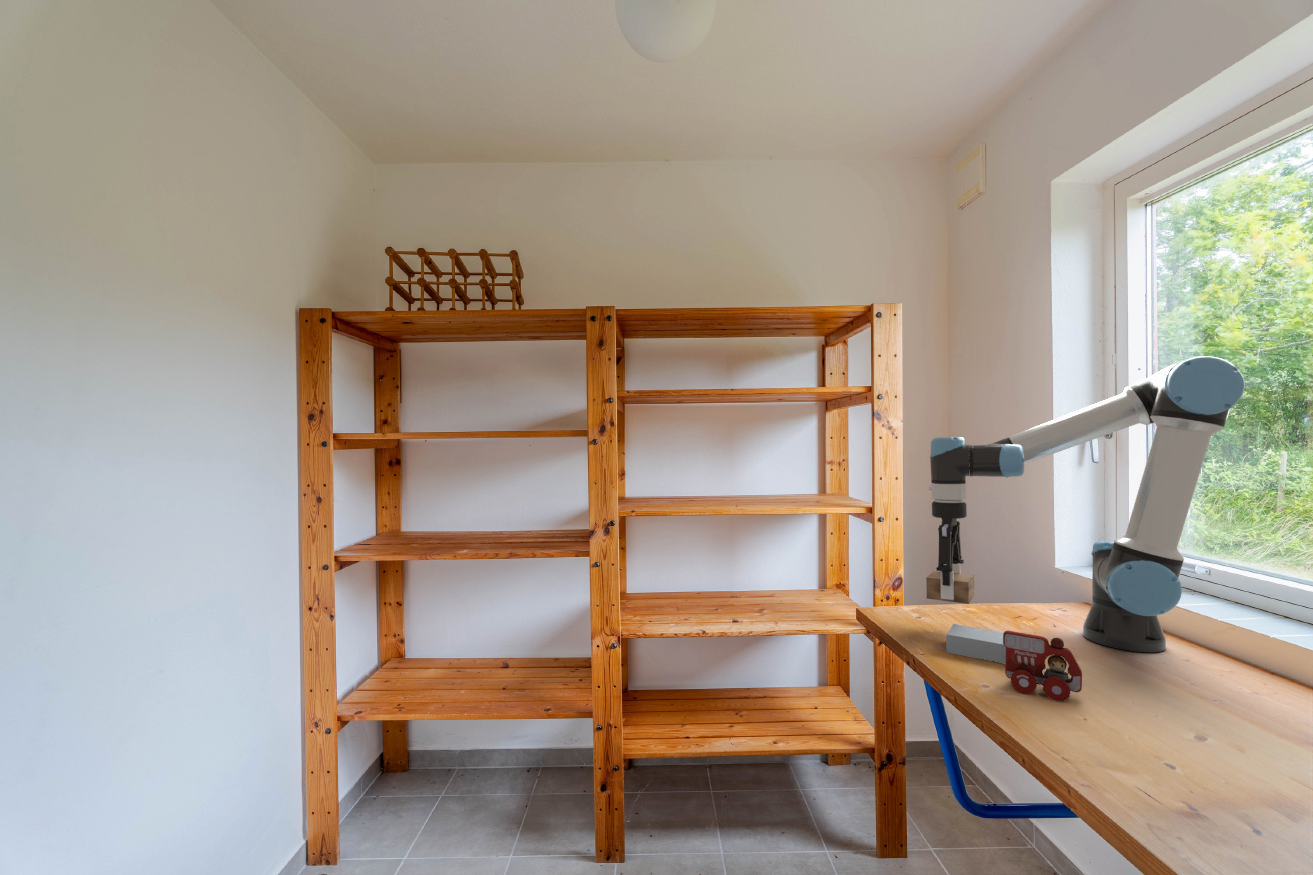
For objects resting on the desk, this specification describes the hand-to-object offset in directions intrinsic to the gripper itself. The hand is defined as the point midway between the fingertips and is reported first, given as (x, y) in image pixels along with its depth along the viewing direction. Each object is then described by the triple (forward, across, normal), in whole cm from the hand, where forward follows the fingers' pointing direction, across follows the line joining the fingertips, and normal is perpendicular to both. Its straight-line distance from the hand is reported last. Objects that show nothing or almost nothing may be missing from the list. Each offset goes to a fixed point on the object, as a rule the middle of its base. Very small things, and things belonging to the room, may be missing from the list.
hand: (951, 594), depth 143 cm
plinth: (+10, +10, +9) cm, 17 cm away
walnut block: (+1, 0, 0) cm, 1 cm away
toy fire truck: (+10, +26, +19) cm, 34 cm away
